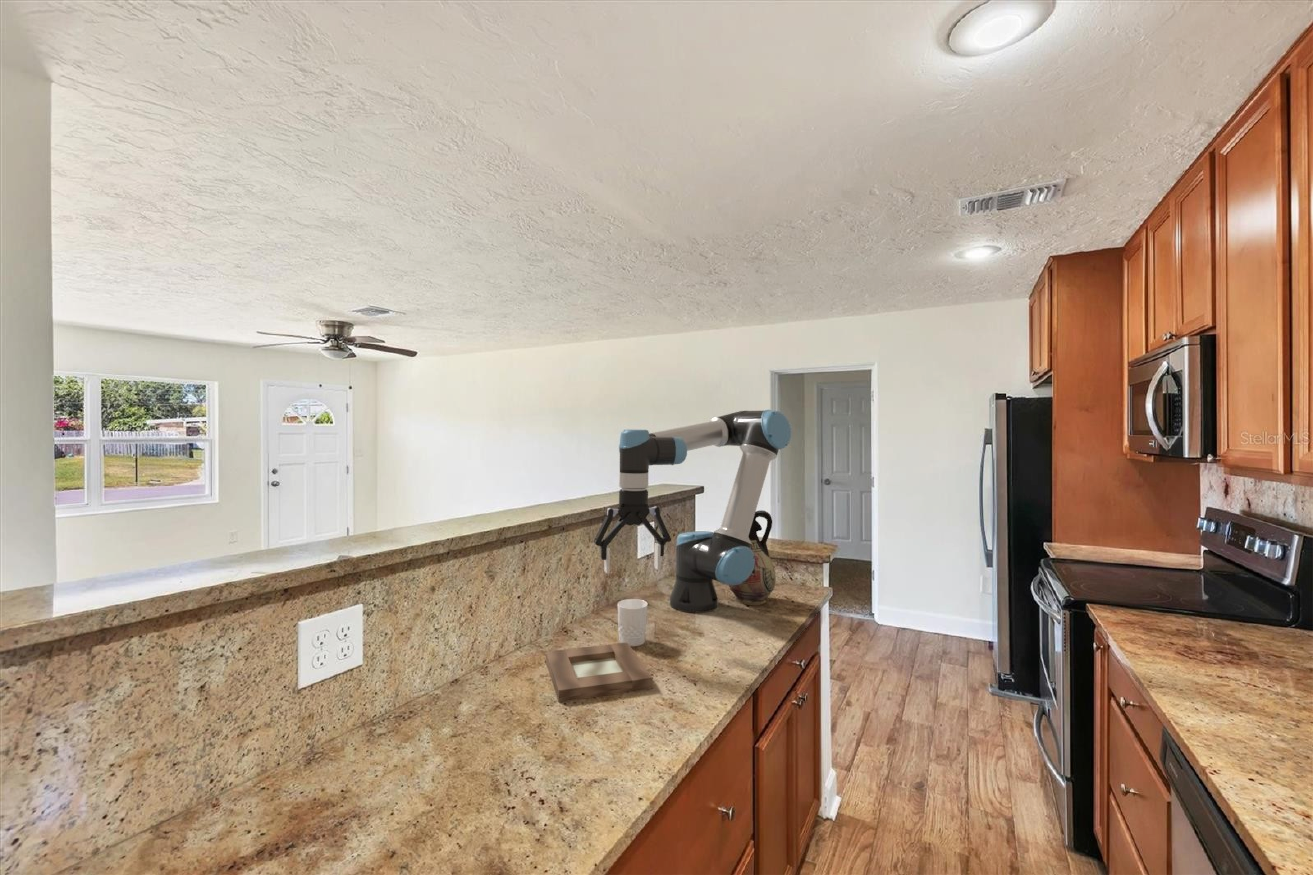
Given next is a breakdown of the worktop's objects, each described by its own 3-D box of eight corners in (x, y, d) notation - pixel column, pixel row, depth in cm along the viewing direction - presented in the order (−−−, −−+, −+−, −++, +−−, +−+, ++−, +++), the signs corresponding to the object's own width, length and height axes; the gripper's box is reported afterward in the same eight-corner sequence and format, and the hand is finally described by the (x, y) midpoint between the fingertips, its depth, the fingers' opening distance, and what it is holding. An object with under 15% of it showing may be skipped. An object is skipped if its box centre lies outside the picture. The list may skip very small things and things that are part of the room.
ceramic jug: (723, 606, 174) (725, 511, 173) (731, 592, 188) (732, 504, 188) (778, 612, 169) (780, 514, 168) (781, 597, 183) (784, 507, 183)
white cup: (634, 650, 138) (634, 610, 138) (610, 642, 143) (611, 604, 143) (653, 641, 144) (653, 603, 144) (630, 633, 149) (630, 597, 149)
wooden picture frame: (627, 652, 137) (627, 642, 137) (652, 688, 118) (652, 677, 118) (545, 661, 131) (545, 651, 130) (558, 702, 112) (558, 690, 112)
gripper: (673, 486, 150) (672, 563, 151) (583, 488, 142) (582, 569, 143) (683, 489, 143) (682, 570, 144) (589, 491, 135) (587, 577, 136)
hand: (632, 570), depth 143 cm, fingers open, 13 cm apart
